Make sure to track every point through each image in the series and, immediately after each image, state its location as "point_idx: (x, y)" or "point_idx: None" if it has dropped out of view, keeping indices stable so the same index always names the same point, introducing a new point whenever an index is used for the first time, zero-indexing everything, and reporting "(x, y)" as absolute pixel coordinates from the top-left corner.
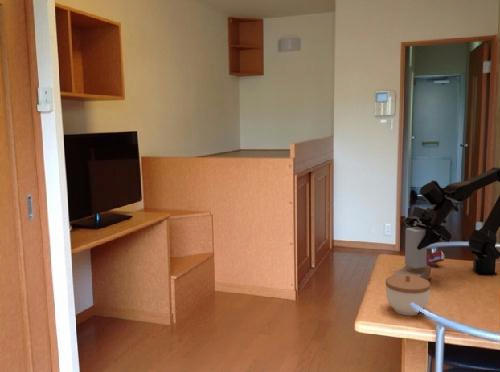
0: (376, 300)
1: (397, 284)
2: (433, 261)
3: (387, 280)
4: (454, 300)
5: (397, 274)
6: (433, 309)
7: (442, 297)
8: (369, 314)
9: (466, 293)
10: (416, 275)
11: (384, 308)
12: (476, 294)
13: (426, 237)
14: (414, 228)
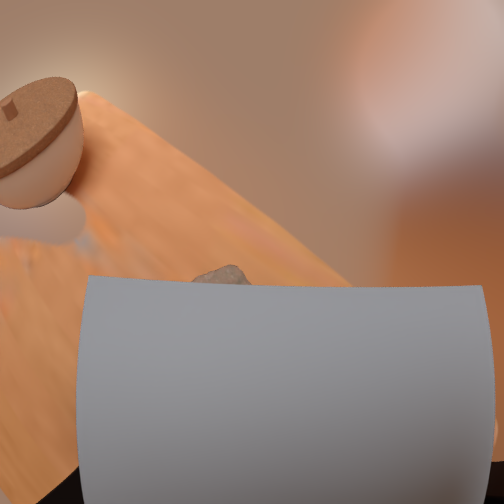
0: (139, 151)
1: (26, 88)
2: None
3: (60, 79)
4: (10, 364)
5: (215, 274)
6: (7, 246)
7: (39, 354)
8: (94, 108)
9: (40, 460)
10: None
11: (90, 143)
12: (27, 475)
13: (61, 491)
14: (428, 491)
